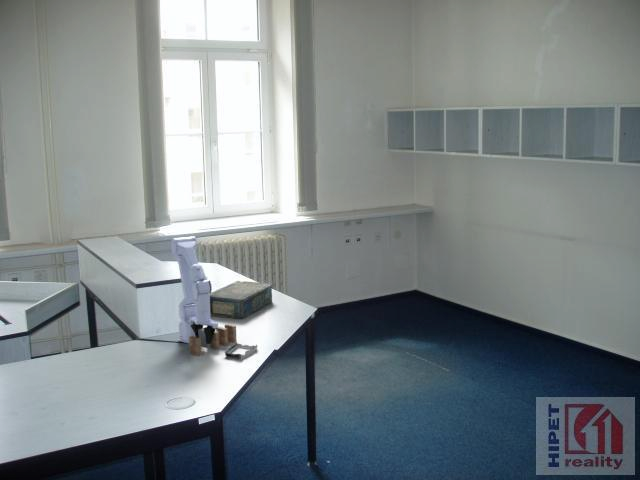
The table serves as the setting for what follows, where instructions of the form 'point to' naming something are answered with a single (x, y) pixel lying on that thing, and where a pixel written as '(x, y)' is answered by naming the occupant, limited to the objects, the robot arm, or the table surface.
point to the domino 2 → (203, 338)
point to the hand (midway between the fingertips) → (204, 342)
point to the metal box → (240, 299)
